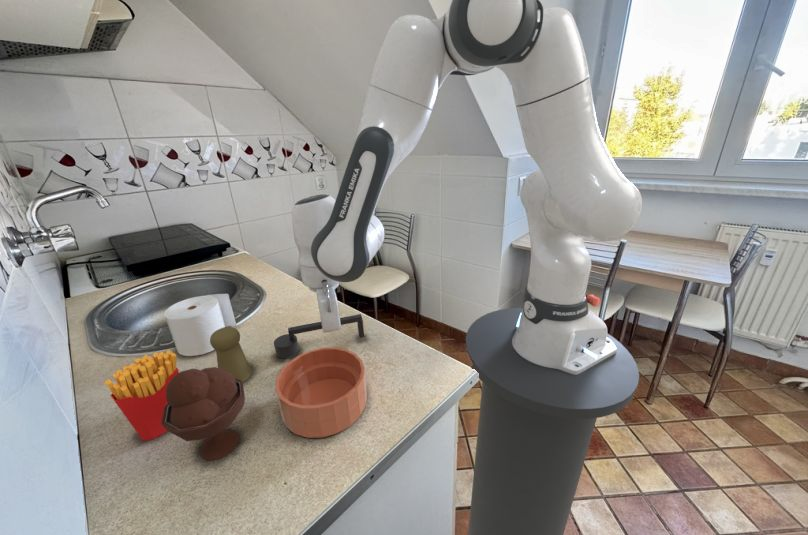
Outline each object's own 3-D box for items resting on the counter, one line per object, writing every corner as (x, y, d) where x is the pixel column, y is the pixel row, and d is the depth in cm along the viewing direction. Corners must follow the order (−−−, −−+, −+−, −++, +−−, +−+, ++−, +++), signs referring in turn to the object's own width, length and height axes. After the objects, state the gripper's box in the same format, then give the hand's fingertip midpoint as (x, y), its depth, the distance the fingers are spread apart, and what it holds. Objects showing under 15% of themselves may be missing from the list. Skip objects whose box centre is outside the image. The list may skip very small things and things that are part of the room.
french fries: (138, 448, 52) (107, 386, 47) (129, 435, 54) (99, 374, 49) (199, 411, 58) (177, 352, 53) (188, 400, 61) (167, 344, 56)
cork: (249, 382, 65) (236, 337, 61) (216, 388, 63) (201, 342, 59) (253, 363, 70) (242, 320, 66) (223, 369, 69) (210, 325, 65)
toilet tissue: (166, 356, 73) (151, 318, 69) (200, 326, 84) (190, 292, 80) (210, 357, 72) (198, 319, 69) (239, 327, 83) (230, 293, 80)
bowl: (358, 368, 68) (355, 340, 65) (375, 425, 55) (372, 393, 52) (283, 385, 64) (276, 357, 61) (281, 452, 51) (273, 419, 48)
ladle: (275, 360, 70) (270, 338, 68) (276, 347, 75) (271, 326, 72) (365, 341, 76) (364, 320, 73) (361, 329, 80) (359, 310, 78)
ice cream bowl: (213, 490, 45) (182, 410, 39) (165, 460, 50) (131, 384, 44) (271, 431, 54) (252, 359, 48) (225, 409, 59) (203, 341, 53)
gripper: (344, 290, 60) (351, 350, 66) (331, 254, 78) (338, 304, 84) (309, 296, 59) (319, 357, 64) (305, 258, 77) (313, 308, 82)
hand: (330, 326), depth 74 cm, fingers closed on ladle
